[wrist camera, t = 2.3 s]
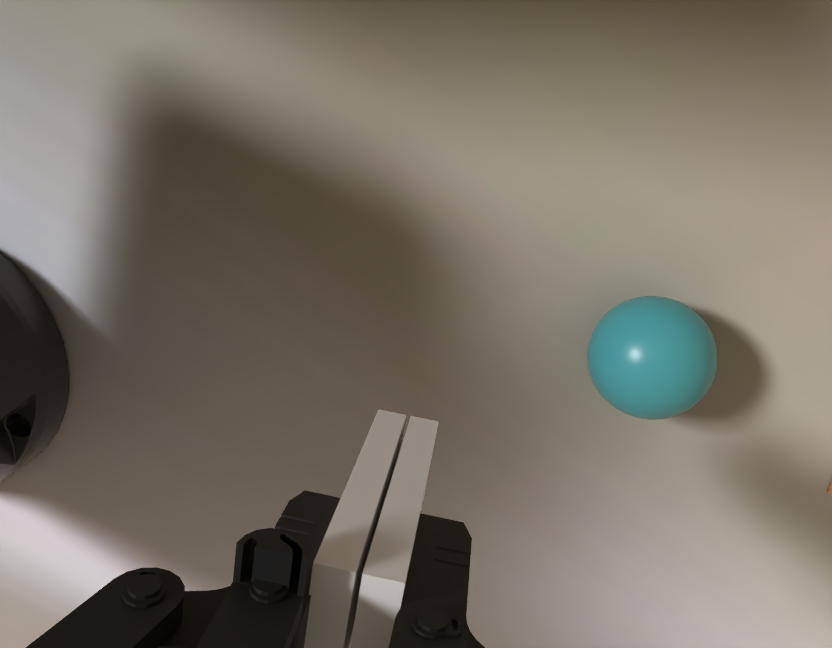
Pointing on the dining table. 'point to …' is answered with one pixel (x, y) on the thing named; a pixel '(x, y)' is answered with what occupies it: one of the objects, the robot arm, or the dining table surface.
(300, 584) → the robot arm
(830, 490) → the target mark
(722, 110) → the dining table surface
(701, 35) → the dining table surface
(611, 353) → the ball
